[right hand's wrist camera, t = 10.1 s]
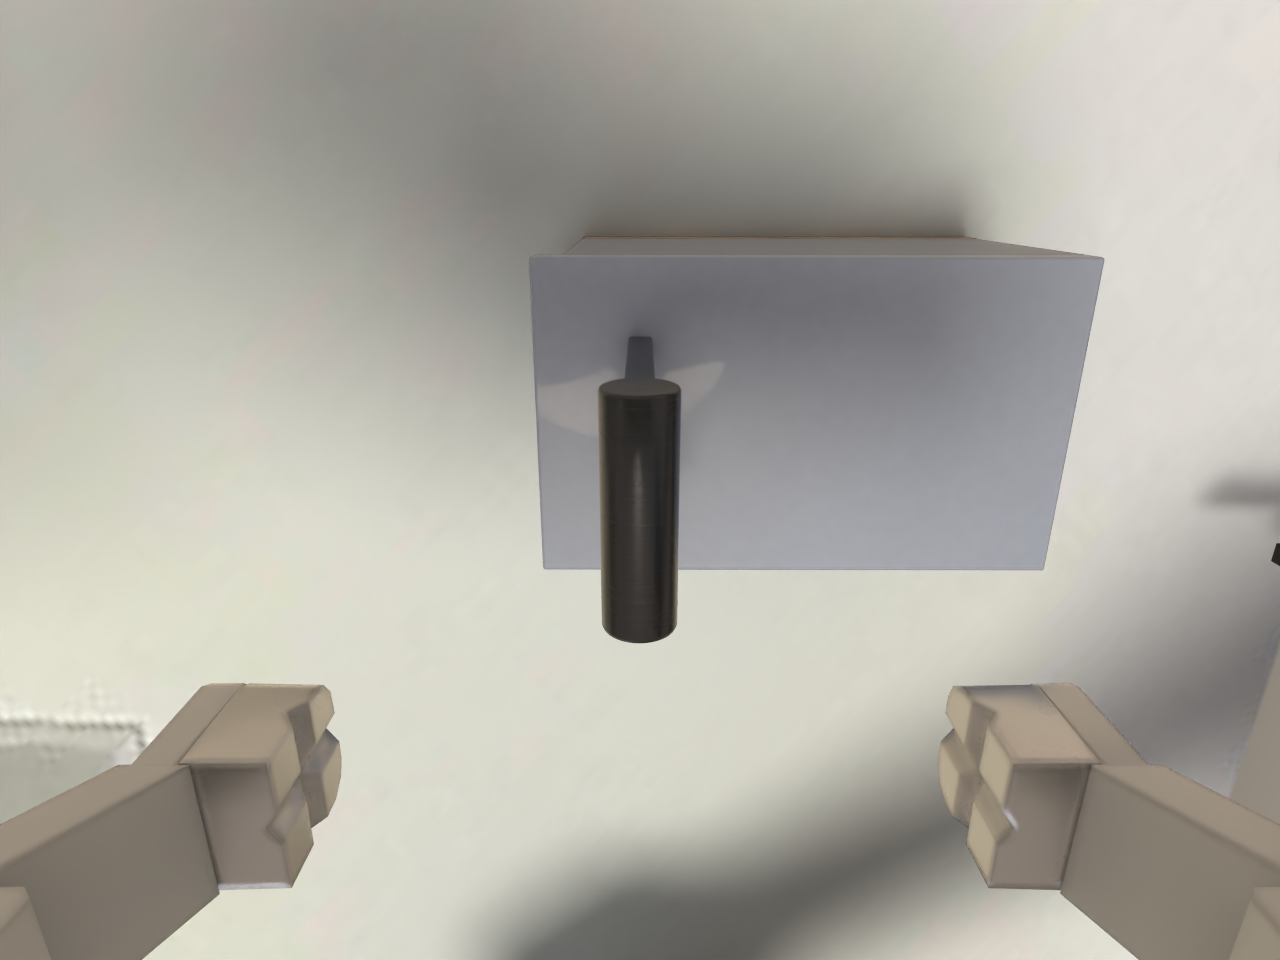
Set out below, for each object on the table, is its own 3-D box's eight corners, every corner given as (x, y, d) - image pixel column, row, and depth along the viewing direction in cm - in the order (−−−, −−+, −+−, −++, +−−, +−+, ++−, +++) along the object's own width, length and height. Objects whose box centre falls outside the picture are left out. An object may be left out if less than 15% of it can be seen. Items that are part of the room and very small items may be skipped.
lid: (546, 557, 26) (503, 722, 18) (532, 254, 23) (472, 289, 15) (1031, 558, 26) (1205, 723, 18) (1088, 254, 23) (1334, 290, 15)
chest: (589, 466, 35) (571, 557, 26) (584, 236, 31) (561, 253, 23) (934, 467, 35) (1030, 558, 26) (965, 237, 31) (1088, 254, 23)
